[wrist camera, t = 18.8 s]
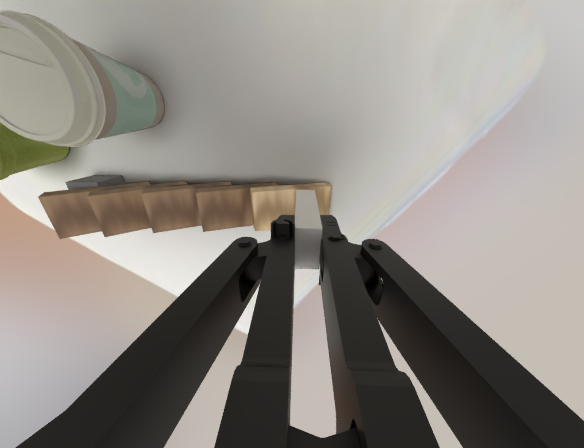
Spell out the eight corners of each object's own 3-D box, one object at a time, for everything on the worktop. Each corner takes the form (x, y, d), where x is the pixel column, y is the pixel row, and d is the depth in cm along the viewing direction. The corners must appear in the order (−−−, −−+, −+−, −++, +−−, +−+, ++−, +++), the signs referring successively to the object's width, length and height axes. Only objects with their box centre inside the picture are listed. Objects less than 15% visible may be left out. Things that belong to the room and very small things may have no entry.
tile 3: (229, 181, 29) (144, 188, 25) (231, 184, 27) (141, 193, 24) (233, 214, 31) (155, 226, 27) (236, 219, 29) (153, 232, 26)
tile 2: (275, 182, 29) (196, 188, 26) (279, 185, 27) (195, 192, 24) (276, 215, 31) (203, 225, 28) (280, 221, 29) (203, 231, 26)
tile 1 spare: (325, 182, 28) (250, 187, 26) (331, 186, 27) (251, 192, 24) (322, 216, 30) (253, 224, 28) (328, 222, 29) (255, 231, 26)
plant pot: (1, 141, 28) (-116, 147, 20) (12, 75, 25) (-123, 52, 17) (72, 185, 30) (-8, 207, 22) (92, 130, 27) (5, 133, 19)
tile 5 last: (149, 181, 29) (44, 192, 23) (150, 184, 27) (38, 197, 22) (158, 215, 31) (64, 232, 26) (160, 220, 29) (59, 238, 24)
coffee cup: (190, 104, 25) (104, 89, 14) (151, 153, 28) (54, 172, 17) (126, 36, 23) (-36, -45, 12) (90, 97, 25) (-69, 76, 14)
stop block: (94, 175, 29) (65, 182, 26) (122, 175, 29) (96, 182, 26) (110, 214, 32) (85, 226, 28) (135, 215, 32) (114, 226, 28)
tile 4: (185, 180, 29) (90, 191, 24) (187, 183, 28) (87, 196, 23) (192, 213, 31) (106, 230, 26) (195, 218, 30) (104, 237, 25)
